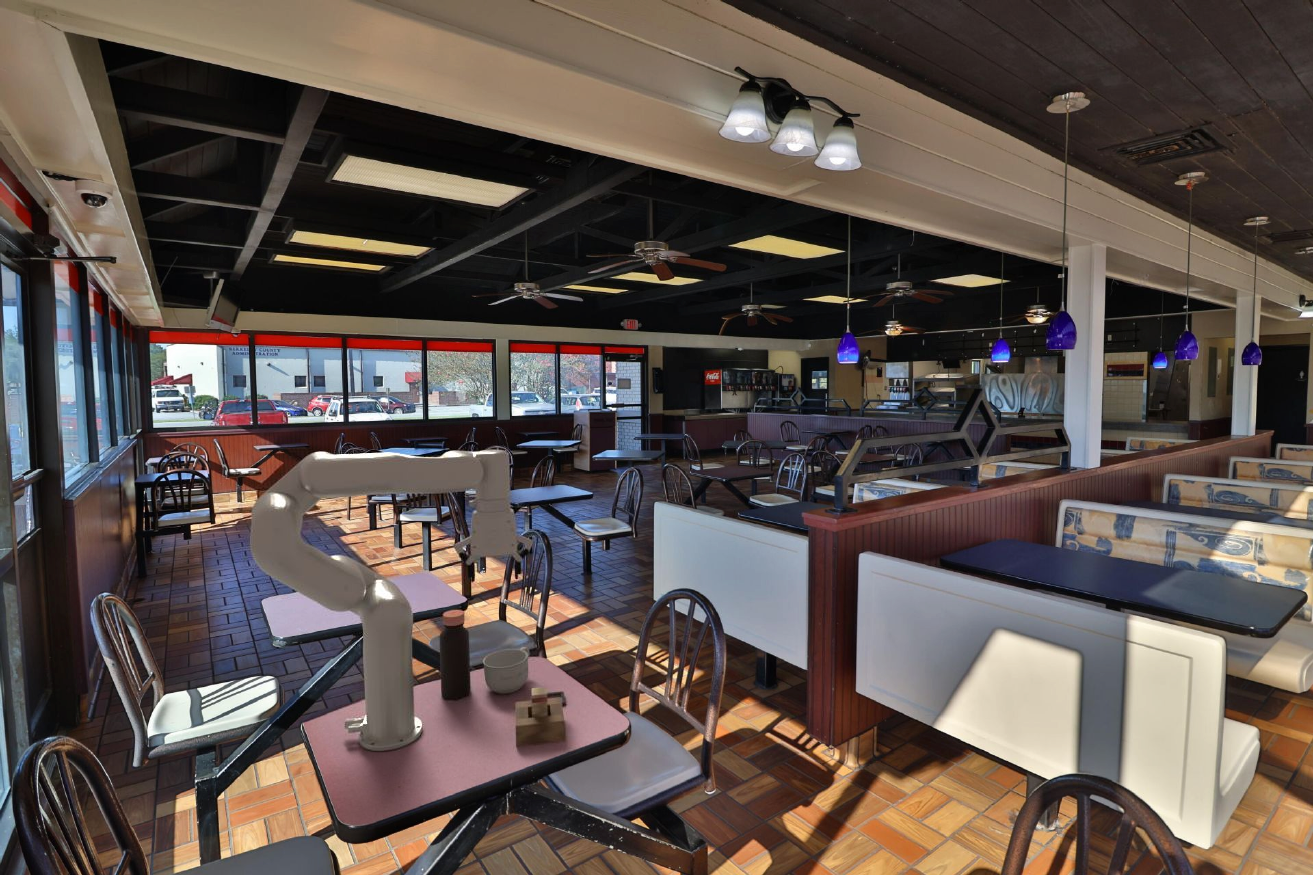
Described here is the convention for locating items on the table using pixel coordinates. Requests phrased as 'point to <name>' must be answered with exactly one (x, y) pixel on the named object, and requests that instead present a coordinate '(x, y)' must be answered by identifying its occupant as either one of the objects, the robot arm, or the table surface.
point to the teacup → (506, 669)
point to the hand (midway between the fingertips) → (494, 578)
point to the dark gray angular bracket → (558, 695)
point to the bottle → (454, 656)
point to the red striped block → (539, 702)
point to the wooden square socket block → (539, 723)
